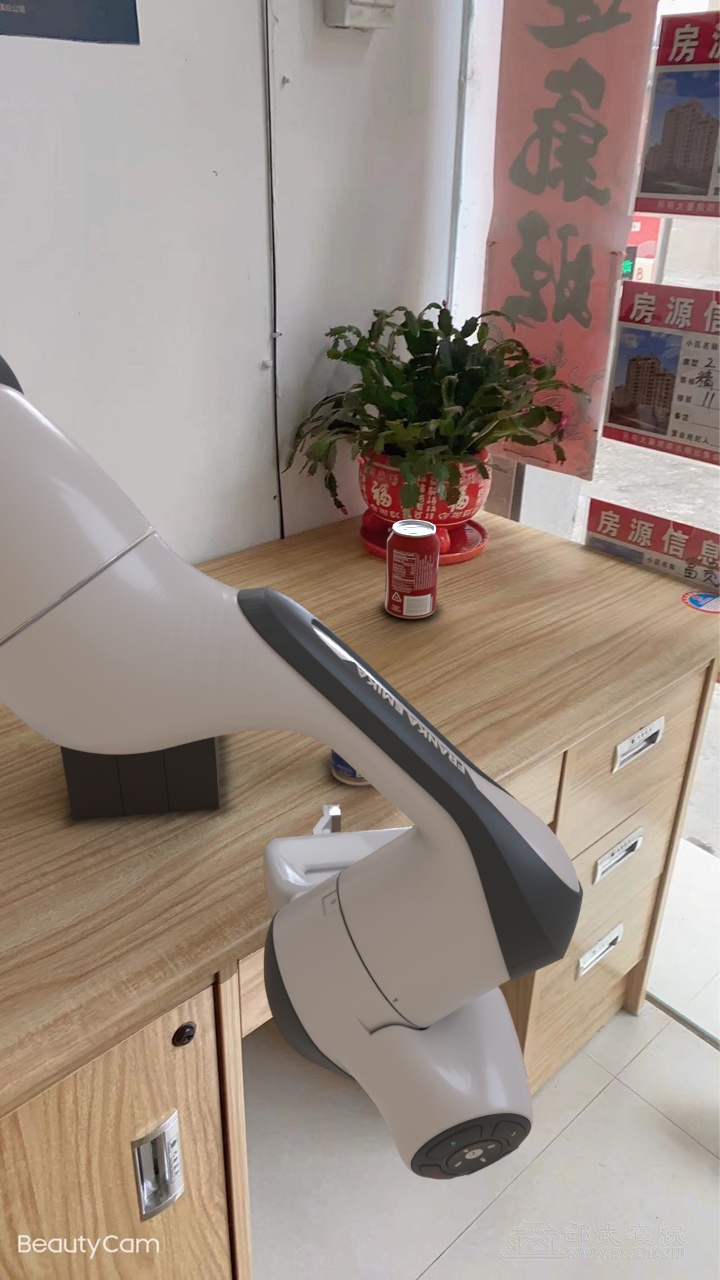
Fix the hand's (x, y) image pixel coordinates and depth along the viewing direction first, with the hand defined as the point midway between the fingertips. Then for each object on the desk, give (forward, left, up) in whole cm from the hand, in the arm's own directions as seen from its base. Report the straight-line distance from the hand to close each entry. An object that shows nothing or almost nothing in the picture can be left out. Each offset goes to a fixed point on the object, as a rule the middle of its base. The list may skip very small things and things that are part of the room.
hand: (380, 805), depth 73 cm
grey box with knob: (-20, +14, -5) cm, 25 cm away
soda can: (+12, +46, -6) cm, 48 cm away
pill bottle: (0, +12, -6) cm, 13 cm away
